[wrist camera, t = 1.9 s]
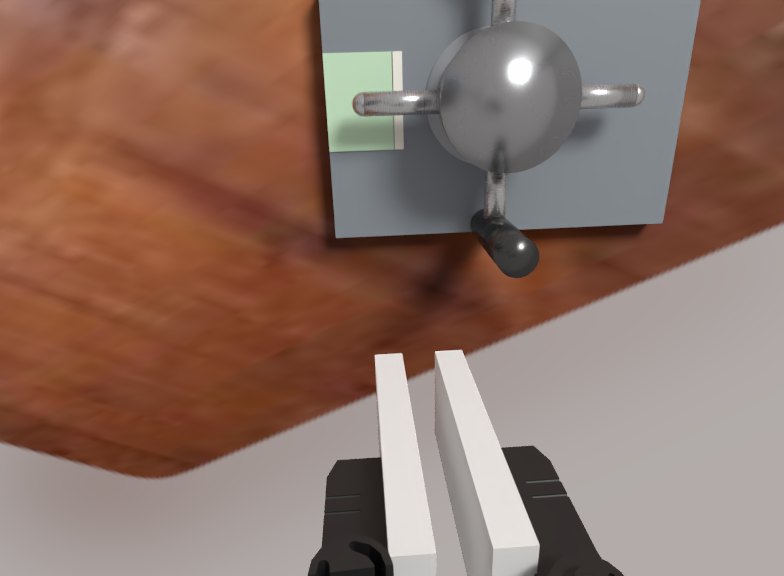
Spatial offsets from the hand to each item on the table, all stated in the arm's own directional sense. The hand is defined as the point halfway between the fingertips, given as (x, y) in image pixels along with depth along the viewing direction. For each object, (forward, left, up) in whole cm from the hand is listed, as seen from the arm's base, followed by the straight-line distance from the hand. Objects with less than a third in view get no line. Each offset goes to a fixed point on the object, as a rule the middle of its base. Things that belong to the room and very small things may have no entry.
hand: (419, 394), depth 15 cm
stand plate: (+7, +6, -18) cm, 21 cm away
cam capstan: (+6, +7, -17) cm, 20 cm away
